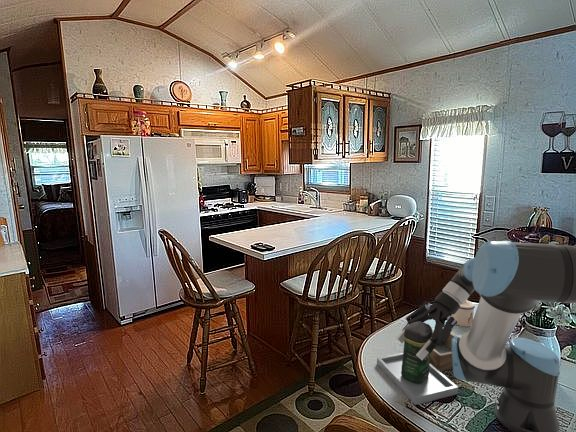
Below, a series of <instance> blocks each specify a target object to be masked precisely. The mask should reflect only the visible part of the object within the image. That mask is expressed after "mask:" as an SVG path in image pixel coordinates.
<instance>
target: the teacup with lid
mask: <svg viewBox="0 0 576 432" xmlns="http://www.w3.org/2000/svg"><path fill="white" fill-rule="evenodd" d="M475 308H476V306H475V303H473V302H472V301H470V300H468V299H467V300H466V301H465V302H464V303H463V304H462V305H460V308H459V309H458V311H457V312H456V313H455V314H452V316H451V317H453V318H454V319H455V320H456V321H457V324H456V325H457V326H460V327H471V324H472V321H473V319H474V315H475ZM456 325H455V326H456Z"/></svg>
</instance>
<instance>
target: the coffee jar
mask: <svg viewBox="0 0 576 432" xmlns="http://www.w3.org/2000/svg"><path fill="white" fill-rule="evenodd" d="M432 331H433V328H432V327H431V326H430V323H429V324H428V323H426V322H421V321H417V322H413V323H411V324H410V325H408V326H407V327H406V328H405V331H404V342H403V351H402V353H403V360H402V369H401V375H402V376H403V377H404V378H405V379H406V380H408V381H410V382H413V383H422V382H423V381H425V380H426V378H427V377H428V375H429V366H430V353H428V354H427V355H426V357H425V358H424V359H423V360H421V359H420V358H419V357H418V356H416V354H417V353H418V352H419V351H420V350H421V348H422V347H423V346H424V345H425V344H426V342H427V341H428V340H430V339H432ZM430 341H431V340H430Z"/></svg>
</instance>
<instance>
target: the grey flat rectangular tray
mask: <svg viewBox="0 0 576 432" xmlns="http://www.w3.org/2000/svg"><path fill="white" fill-rule="evenodd" d="M402 360H403V352H399V353H394V354H390V355H385V356H384V355H383V356H379V357H376V365H377V366H378V367H379V368H380V369H381V370H382V371H383V372H384V374H385V375H387V376H388V378H389V379H390V380H391V381H392V382H393V383H394V384H395V385H396V386H397V388H398V389H399V390H400V391H401V392H402V393H403V394H404V395H405V396H406V397H407V398H408V400H410V401H411V403H412V404H413V405H414V406H416V405H421V404H423V403H428V402H432V401H436V400H437V401H438V400H440V399H443V398H447V397H452V396H455V395H458V394H459V386H458V385H457V384H455V383H454V382H453V381H452V380H450V378H448V377H447V376H446V375H445V374H443V373H442V371H439V370H438V369H436V368H435V367H434V366H433V365H432V364H430V366H429V375H428V377H427V378H426V380H425V381H423V382H422V383H413V382H410V381H408V380H406V379H405V378H404V377H403V376H402V375H401V369H402Z"/></svg>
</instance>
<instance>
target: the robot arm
mask: <svg viewBox="0 0 576 432" xmlns="http://www.w3.org/2000/svg"><path fill="white" fill-rule="evenodd" d="M474 291H475V292H476V293H477V294H479V296H480V297H479V298H480V299H479V302H478V305H477V307H476V311H475V312H474V315H473V321H472V324H471V326H469V330H466V331H465V332H463V333H462V335H461V336H460V337H459V336H457V337H453V338H452V339H451V349H452V350H451V349H450V350H451V352H452V365H453V368H452V373H453V376H454V378H456V379H457V380H460V381H464V382H466V383H476V384H482V385H488V386H495V387H500V388H503V390H502V392H501V394H500V395H499V397H498V398H497V400H496V402H495V407H494V413H495V417H496V418H497V420H498V421H499V422H500V423H501V425H502V426H504V427H505V428H506V429H507V428H508V431H511V432H560V423H559V420H558V417H557V412H556V407H555V402H556V395H557V388H558V383H559V382H558V381H559V377H560V373H561V371H560V366H561V364H560V362H561V361H560V358H559V356H558V355H557V353H556V352H554V351H553V349H551V348H550V347H548V346H546V345H544V344H542V343H540V342H538V341H535V340H533V339H529V338H525V337H512V338H511V339H510V337H511V335H512V333H513V331H514V329H515V328H516V326H517V324H518V322H519V320H520V318H521V316H522V314H526V313H528V312H530V311H532V310H533V309H534V308H535V307H536V305H537V304H538V302H549V303H559V304H560V303H561V304H576V246H574V245H569V244H553V243H551V244H550V243H535V242H534V243H531V242H513V241H510V240H501V241H500V240H499V241H497V240H496V241H495V240H492V241H486V242H484V243H483V244H481V246H479V248H478V250H477V252H476V254H475V257H473V258H468V259H467V260H466V261H465V262H464V263H463V265H462V266H461V267H460V269H459V270H458V271H457V272H456V273H455V274H454V276H453V277H452V278H451V280H450V281H449V282H448V283H447V284H446V285H445V286H444V287H443V289H442V291H440V292H439V294H438V295H437V296H436V297H435V298H434V302H433V303H429V301H428V300H425V301H424V302H423V303H422V304H421V306H419V307H417V309H415V310H414V311H412V313H410V314H409V315H408V316H406V317H405V321H407V323H406V324H405V326H404V327H403V328H402V331H401V332H400V334H398V336H397V337H396V339H397V341H399V342H400V343H401V344H404V331H405V328H406V327H407V326H408V325H410V324H411V323H413V322H417V321H421V322H423V323H426V321H429V320H430V321H431V320H433V321H434V322H435V324H434V329H433V331H434V332H433V336H432V339H430V340H431V341H432V342H431V341H430V340H428V341H427V342H426V344H425V345H424V346H423V347H422V348H421V350H420V351H419V352H418V353H417V354H416V356H418V357H419V358H420V359H421V360H423V359H424V358H425V357H426V355H427V354H428V353H431V352H432V351H433V350H434V349H435V348H437V347H441V348H444V347H445V346H446V345H445V344H446V342H447V339H448V337H449V335H450V333H452V331H453V329H454V327H455V326H456V324H457V321H456V320H455V319H454V318H453V317H452V314H455V313H456V312H457V311H458V309H459V308H460V305H462V304H463V303H464V302H465V301H466V300H468V299H469V298H470V296H471V295H472V293H474ZM509 339H510V340H509ZM508 341H509V343H508ZM507 343H508V344H507Z"/></svg>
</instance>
